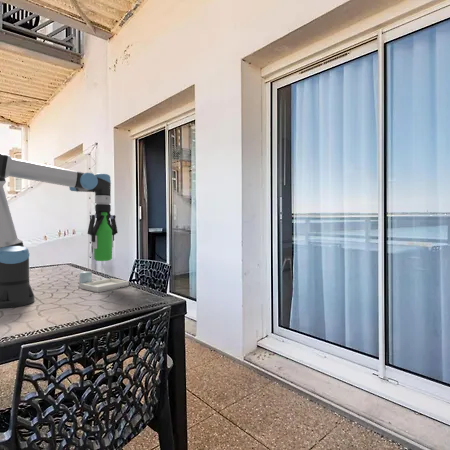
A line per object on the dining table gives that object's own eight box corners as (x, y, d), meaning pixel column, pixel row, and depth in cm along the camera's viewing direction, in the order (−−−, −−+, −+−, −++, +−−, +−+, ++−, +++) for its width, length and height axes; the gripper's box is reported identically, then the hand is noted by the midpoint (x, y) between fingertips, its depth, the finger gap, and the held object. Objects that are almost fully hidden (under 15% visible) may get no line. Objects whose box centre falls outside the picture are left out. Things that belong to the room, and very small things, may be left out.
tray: (97, 292, 155) (97, 287, 155) (80, 288, 164) (80, 283, 164) (128, 285, 169) (128, 281, 169) (111, 282, 178) (111, 278, 178)
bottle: (108, 261, 164) (108, 211, 163) (91, 261, 163) (91, 211, 163) (114, 259, 172) (114, 212, 172) (98, 259, 172) (97, 212, 172)
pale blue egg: (83, 287, 167) (83, 273, 166) (77, 285, 170) (76, 272, 170) (94, 285, 171) (93, 272, 171) (87, 284, 175) (87, 271, 175)
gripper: (88, 203, 156) (88, 249, 157) (124, 204, 174) (124, 246, 175) (79, 203, 161) (79, 248, 161) (115, 205, 178) (116, 246, 179)
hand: (103, 247), depth 168 cm, fingers closed on bottle, 9 cm apart
